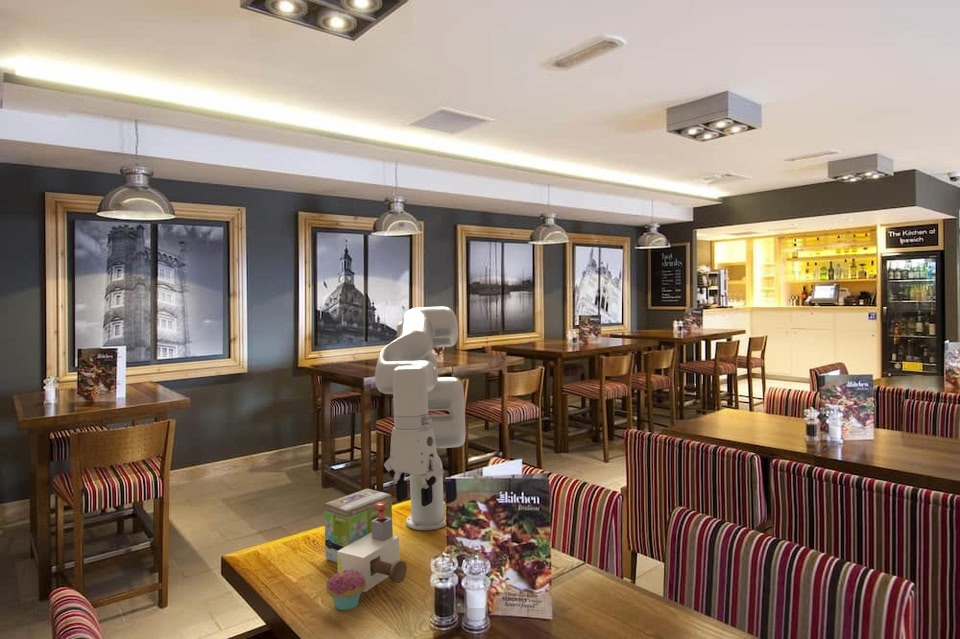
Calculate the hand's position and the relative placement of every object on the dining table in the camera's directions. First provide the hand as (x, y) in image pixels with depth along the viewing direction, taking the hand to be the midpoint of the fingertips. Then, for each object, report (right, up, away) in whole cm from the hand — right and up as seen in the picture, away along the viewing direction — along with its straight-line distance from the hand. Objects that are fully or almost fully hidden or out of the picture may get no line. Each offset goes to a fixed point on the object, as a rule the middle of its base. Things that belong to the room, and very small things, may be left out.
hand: (414, 501), depth 136 cm
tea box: (-17, -21, +25) cm, 37 cm away
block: (-12, -21, +11) cm, 27 cm away
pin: (-9, -20, +7) cm, 23 cm away
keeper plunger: (-9, -10, +14) cm, 20 cm away
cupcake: (-15, -22, -1) cm, 27 cm away
